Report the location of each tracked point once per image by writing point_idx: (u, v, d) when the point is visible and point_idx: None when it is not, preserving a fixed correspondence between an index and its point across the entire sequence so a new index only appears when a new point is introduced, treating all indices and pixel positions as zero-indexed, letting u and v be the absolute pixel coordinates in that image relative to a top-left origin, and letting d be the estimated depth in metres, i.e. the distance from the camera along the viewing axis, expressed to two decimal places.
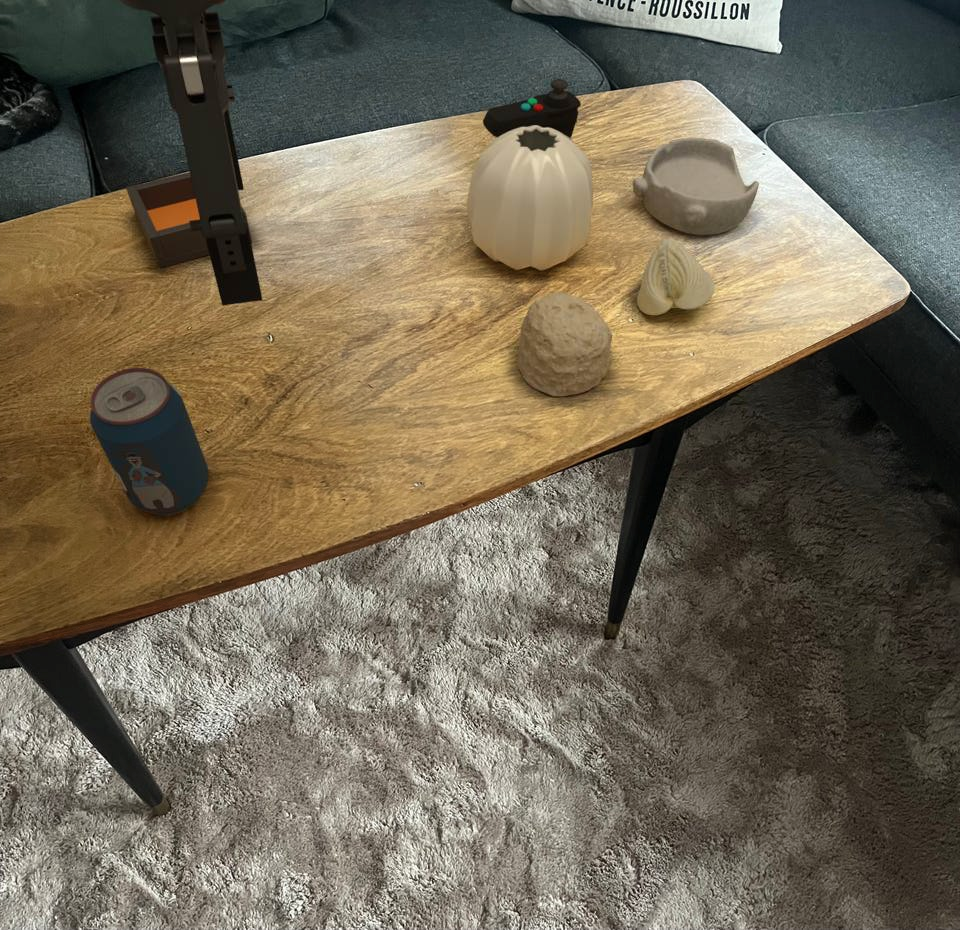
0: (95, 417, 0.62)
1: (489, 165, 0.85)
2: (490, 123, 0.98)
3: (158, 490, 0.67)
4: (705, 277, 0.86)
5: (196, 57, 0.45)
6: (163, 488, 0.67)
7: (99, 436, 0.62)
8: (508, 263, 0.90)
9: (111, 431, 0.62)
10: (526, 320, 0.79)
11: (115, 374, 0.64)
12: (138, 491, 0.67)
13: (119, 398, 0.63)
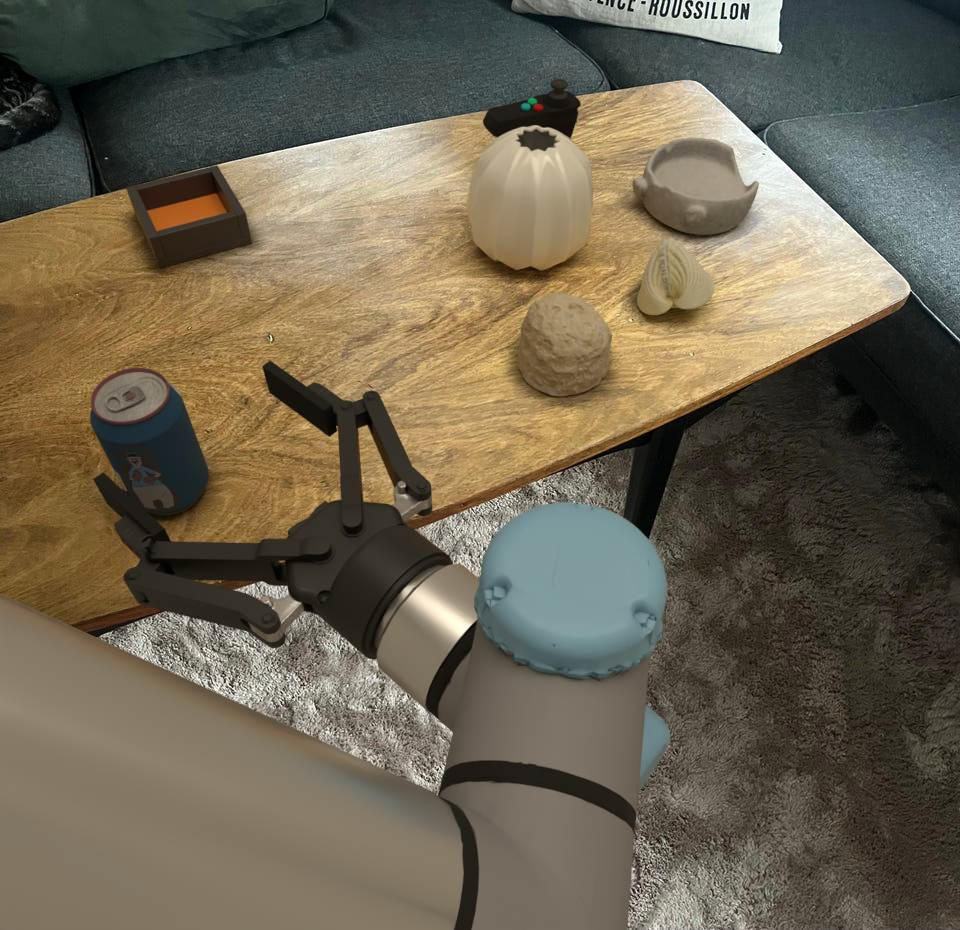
0: (95, 417, 0.62)
1: (489, 165, 0.85)
2: (490, 123, 0.98)
3: (158, 490, 0.67)
4: (705, 277, 0.86)
5: (276, 640, 0.47)
6: (163, 488, 0.67)
7: (99, 436, 0.62)
8: (508, 263, 0.90)
9: (111, 431, 0.62)
10: (526, 320, 0.79)
11: (115, 374, 0.64)
12: (138, 491, 0.67)
13: (119, 398, 0.63)
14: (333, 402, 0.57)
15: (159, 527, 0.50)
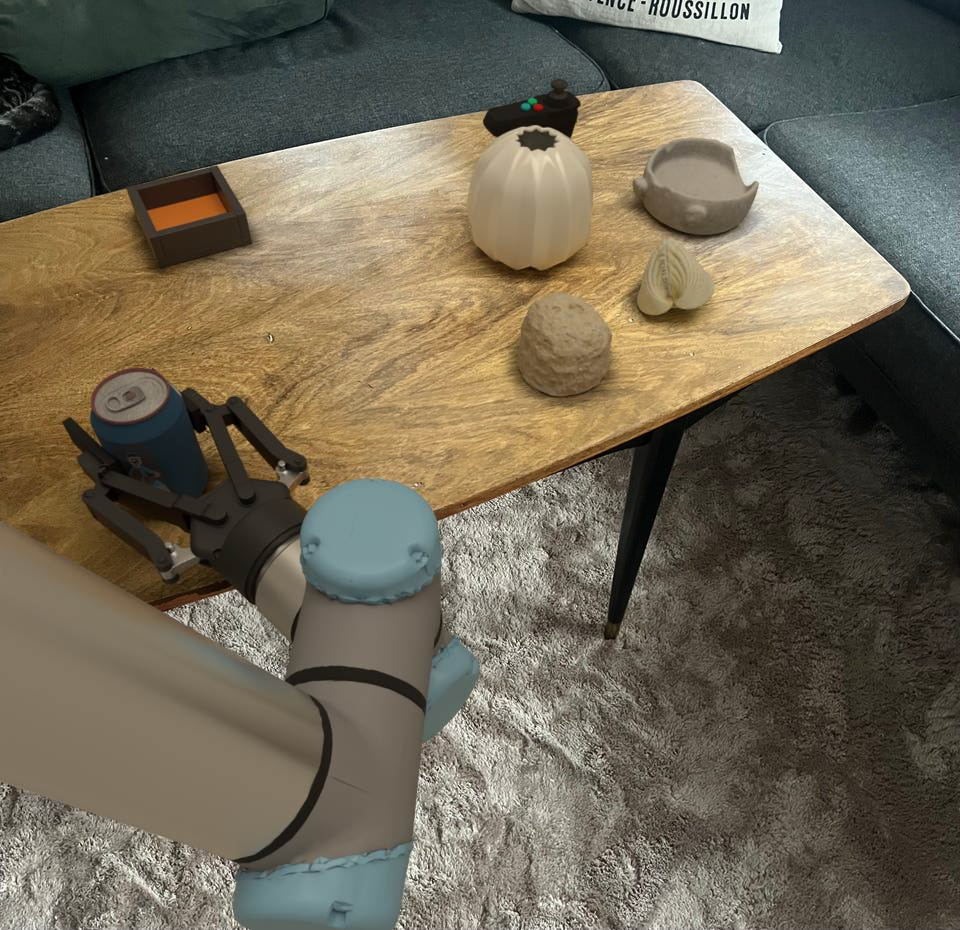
0: (95, 417, 0.62)
1: (489, 165, 0.85)
2: (490, 123, 0.98)
3: None
4: (705, 277, 0.86)
5: (167, 578, 0.59)
6: (163, 488, 0.67)
7: (99, 436, 0.62)
8: (508, 263, 0.90)
9: (111, 431, 0.62)
10: (526, 320, 0.79)
11: (115, 374, 0.64)
12: None
13: (119, 398, 0.63)
14: (202, 404, 0.68)
15: (112, 459, 0.63)
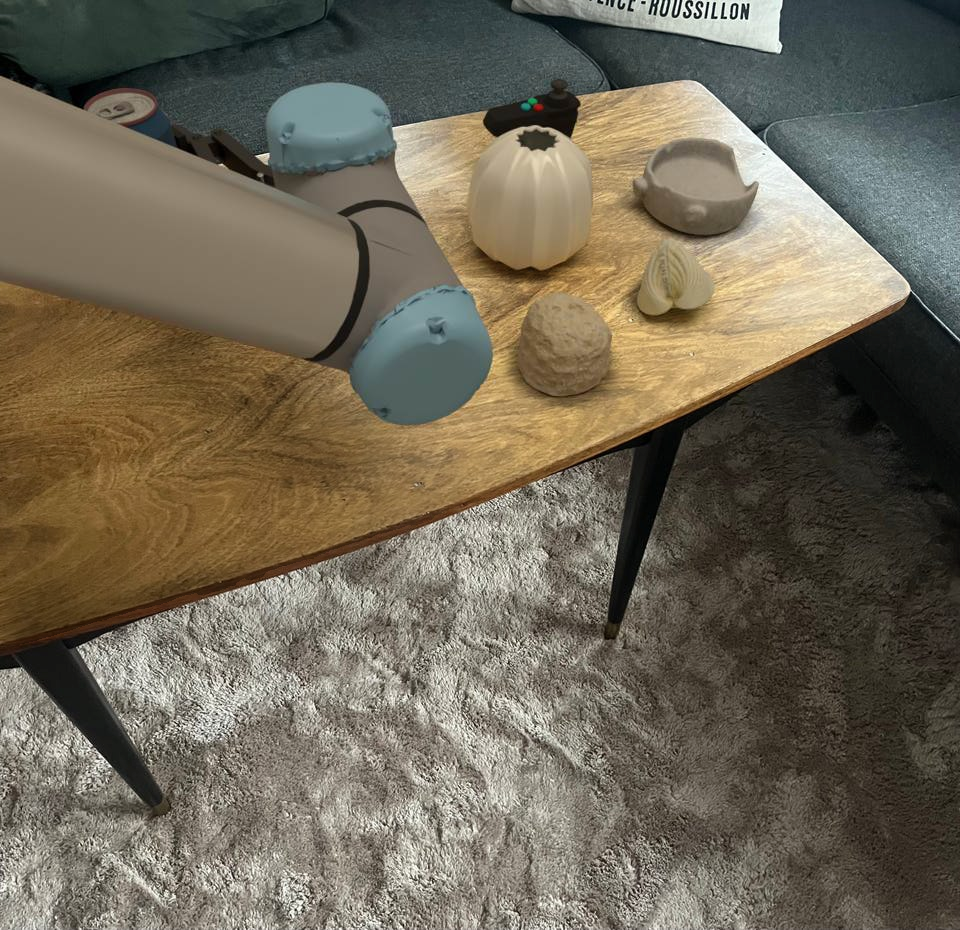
0: None
1: (489, 165, 0.85)
2: (490, 123, 0.98)
3: None
4: (705, 277, 0.86)
5: None
6: None
7: None
8: (508, 263, 0.90)
9: None
10: (526, 320, 0.79)
11: (107, 92, 0.69)
12: None
13: (110, 109, 0.68)
14: (188, 136, 0.73)
15: None
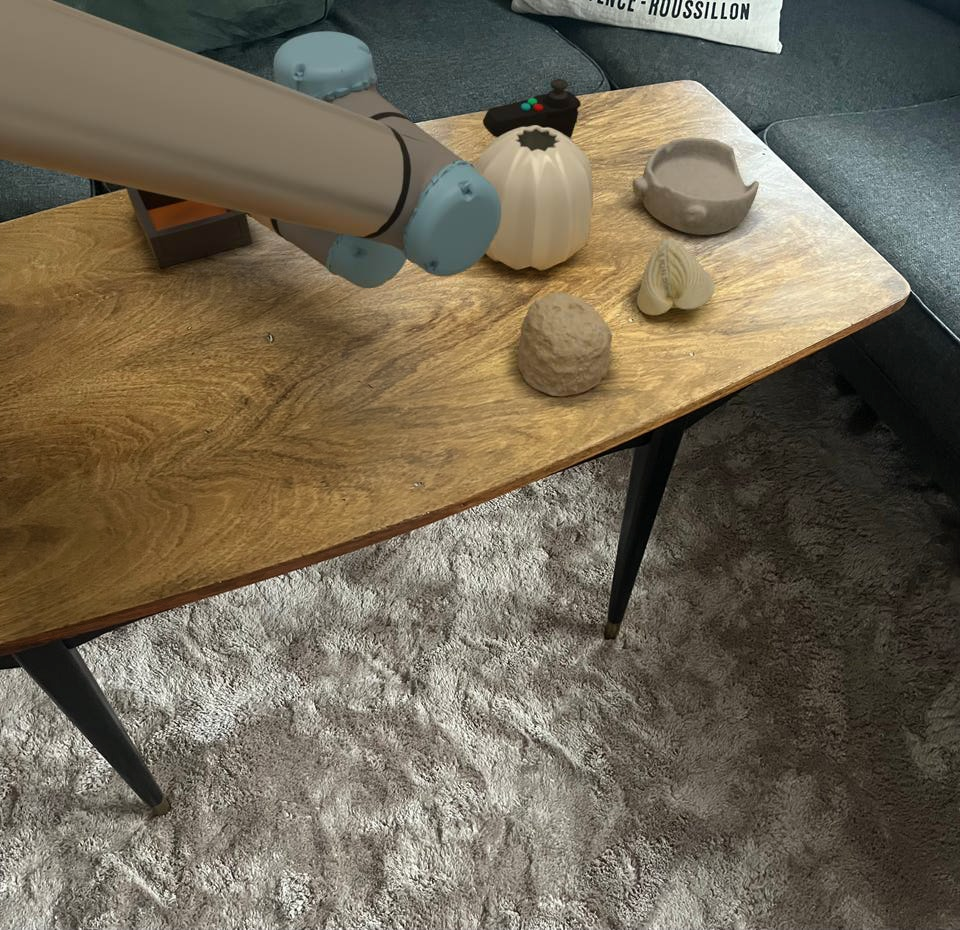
0: None
1: (489, 165, 0.85)
2: (490, 123, 0.98)
3: None
4: (705, 277, 0.86)
5: None
6: None
7: None
8: (508, 263, 0.90)
9: None
10: (526, 320, 0.79)
11: None
12: None
13: None
14: None
15: None
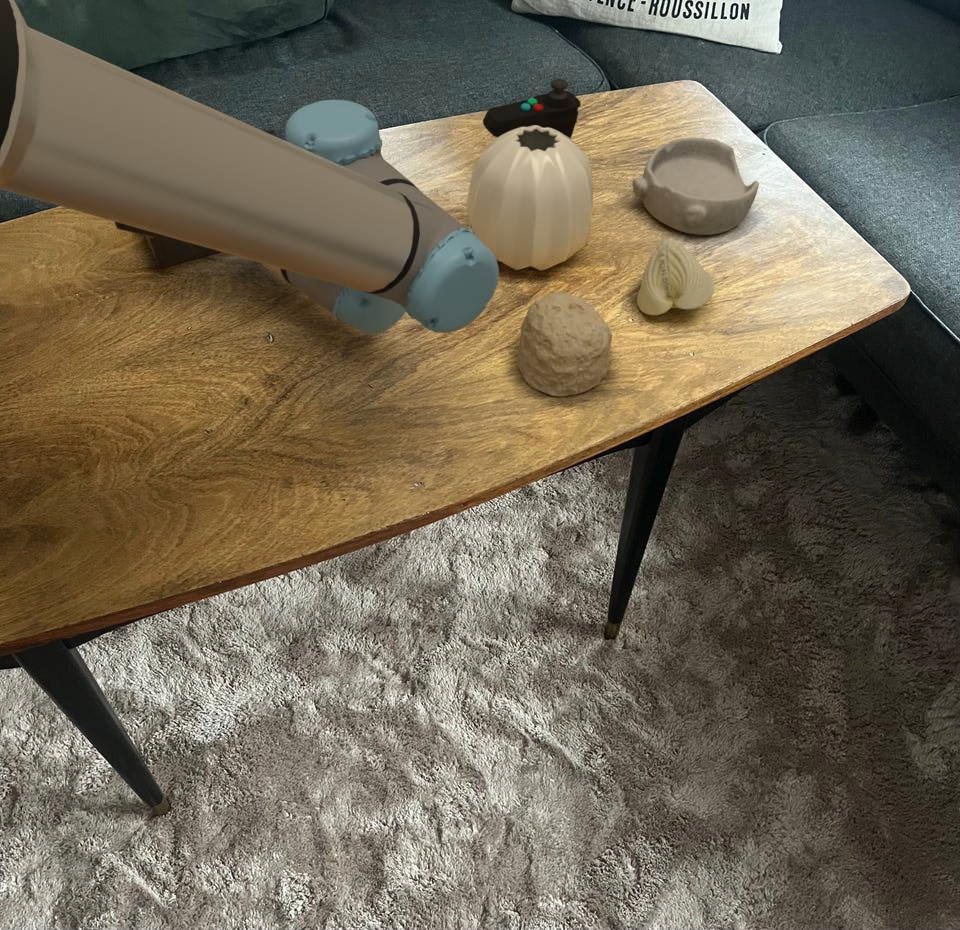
0: None
1: (489, 165, 0.85)
2: (490, 123, 0.98)
3: None
4: (705, 277, 0.86)
5: None
6: None
7: None
8: (508, 263, 0.90)
9: None
10: (526, 320, 0.79)
11: None
12: None
13: None
14: None
15: None
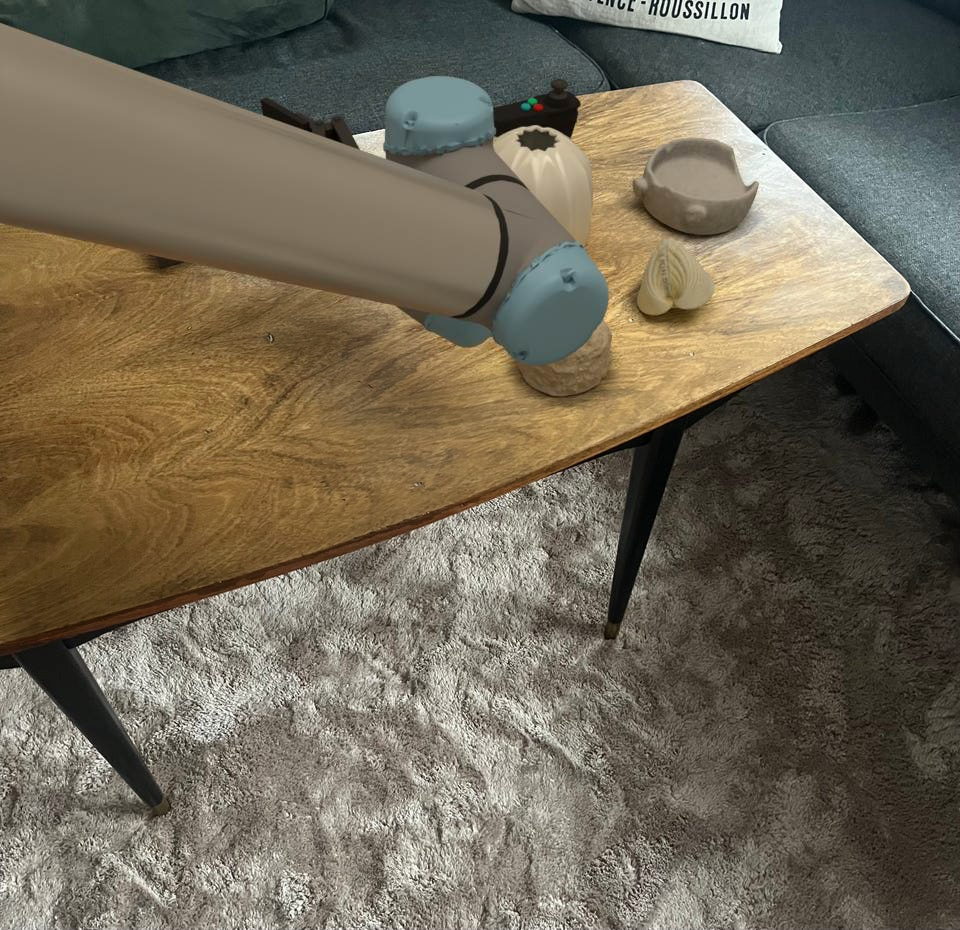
0: None
1: None
2: None
3: None
4: (705, 277, 0.86)
5: None
6: None
7: None
8: None
9: None
10: None
11: None
12: None
13: None
14: (310, 123, 0.81)
15: None
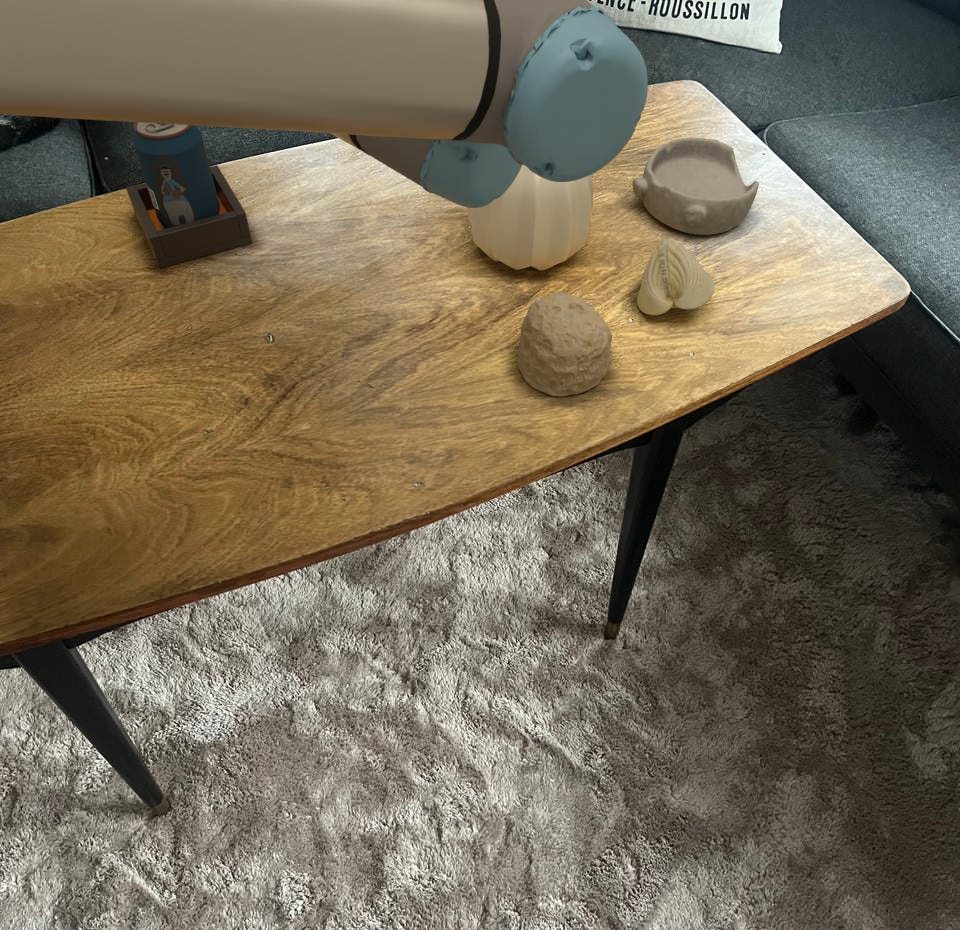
0: (137, 136, 0.84)
1: None
2: None
3: (182, 206, 0.89)
4: (705, 277, 0.86)
5: None
6: (186, 204, 0.89)
7: (140, 151, 0.85)
8: (508, 263, 0.90)
9: (149, 145, 0.84)
10: (526, 320, 0.79)
11: None
12: (167, 206, 0.89)
13: (155, 124, 0.85)
14: None
15: None
